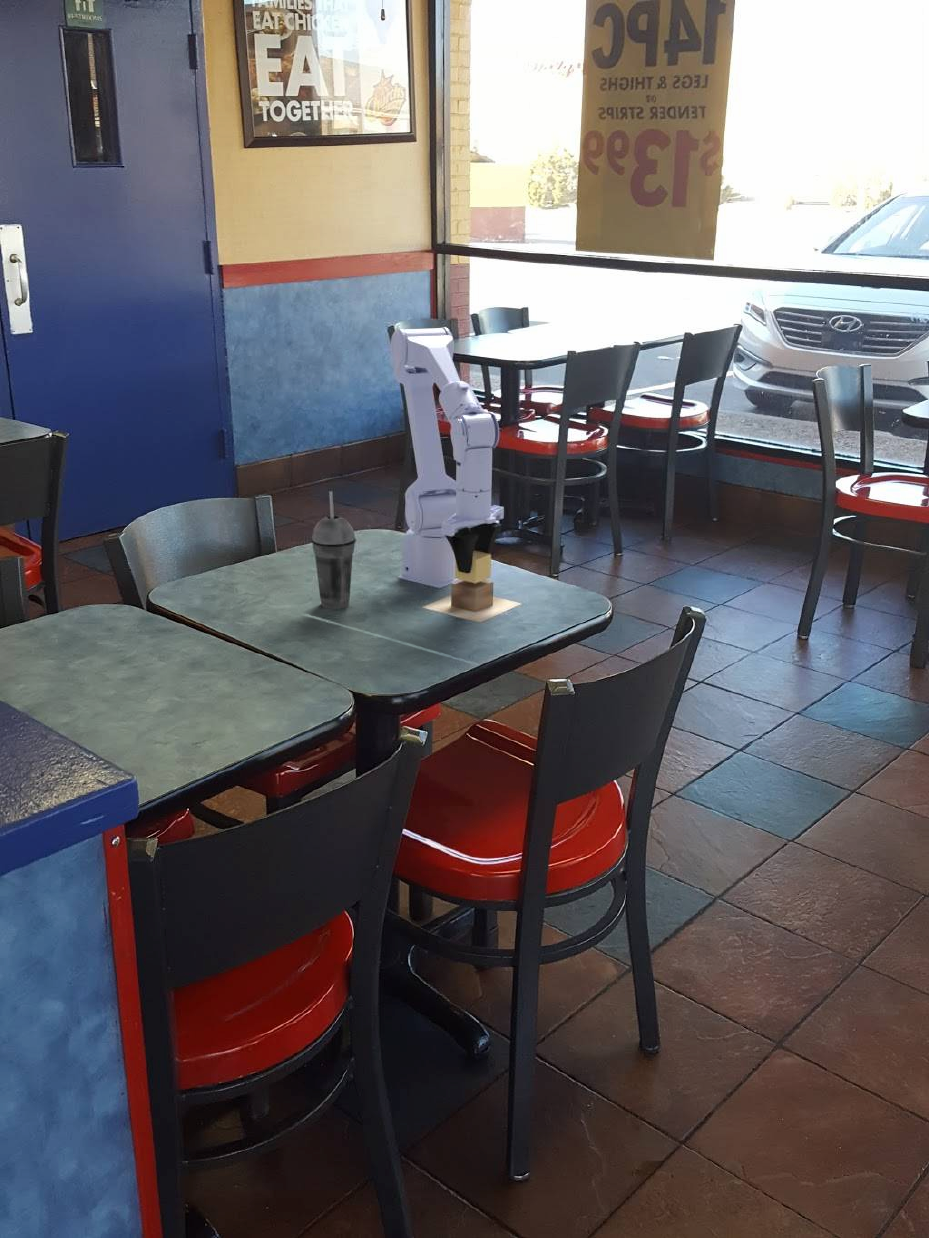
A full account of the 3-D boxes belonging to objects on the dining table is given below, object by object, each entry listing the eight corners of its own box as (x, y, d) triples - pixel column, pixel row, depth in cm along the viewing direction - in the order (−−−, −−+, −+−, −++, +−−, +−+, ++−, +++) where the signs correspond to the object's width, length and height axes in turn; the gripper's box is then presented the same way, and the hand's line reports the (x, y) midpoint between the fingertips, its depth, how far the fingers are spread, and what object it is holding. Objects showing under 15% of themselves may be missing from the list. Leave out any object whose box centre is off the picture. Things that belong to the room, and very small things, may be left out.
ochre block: (455, 578, 199) (455, 555, 197) (470, 572, 202) (470, 549, 201) (475, 583, 196) (475, 559, 195) (490, 577, 200) (491, 554, 198)
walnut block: (451, 606, 200) (451, 583, 199) (469, 598, 204) (469, 576, 203) (475, 612, 197) (475, 589, 196) (492, 604, 201) (493, 581, 200)
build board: (421, 609, 200) (421, 607, 200) (464, 591, 209) (464, 589, 209) (479, 624, 193) (479, 622, 193) (522, 605, 202) (522, 603, 202)
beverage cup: (360, 600, 204) (358, 485, 197) (352, 615, 197) (350, 495, 190) (318, 599, 204) (314, 483, 197) (309, 613, 197) (305, 494, 191)
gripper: (466, 500, 186) (465, 584, 191) (519, 484, 197) (517, 563, 202) (431, 493, 190) (430, 575, 195) (484, 477, 201) (483, 555, 206)
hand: (472, 568), depth 199 cm, fingers closed on ochre block, 4 cm apart
